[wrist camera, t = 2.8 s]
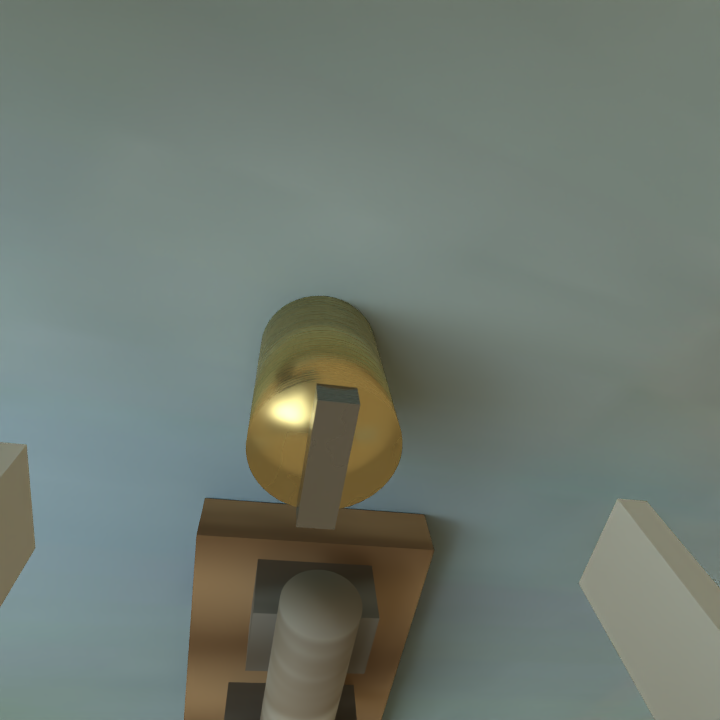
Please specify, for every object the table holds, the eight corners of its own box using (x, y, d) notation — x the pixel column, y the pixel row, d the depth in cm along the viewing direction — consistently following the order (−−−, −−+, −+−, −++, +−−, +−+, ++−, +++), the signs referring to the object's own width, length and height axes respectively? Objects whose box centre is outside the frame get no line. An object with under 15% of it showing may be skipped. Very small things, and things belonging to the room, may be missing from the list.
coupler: (267, 288, 18) (251, 389, 12) (384, 304, 19) (423, 407, 13) (255, 392, 20) (236, 526, 14) (364, 403, 21) (389, 536, 15)
